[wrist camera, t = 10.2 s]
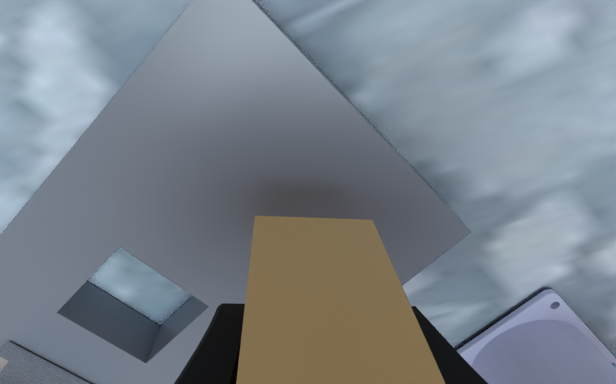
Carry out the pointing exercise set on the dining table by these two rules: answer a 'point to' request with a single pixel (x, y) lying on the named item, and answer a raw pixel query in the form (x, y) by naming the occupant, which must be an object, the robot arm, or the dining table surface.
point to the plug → (328, 308)
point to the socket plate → (200, 194)
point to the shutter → (31, 369)
